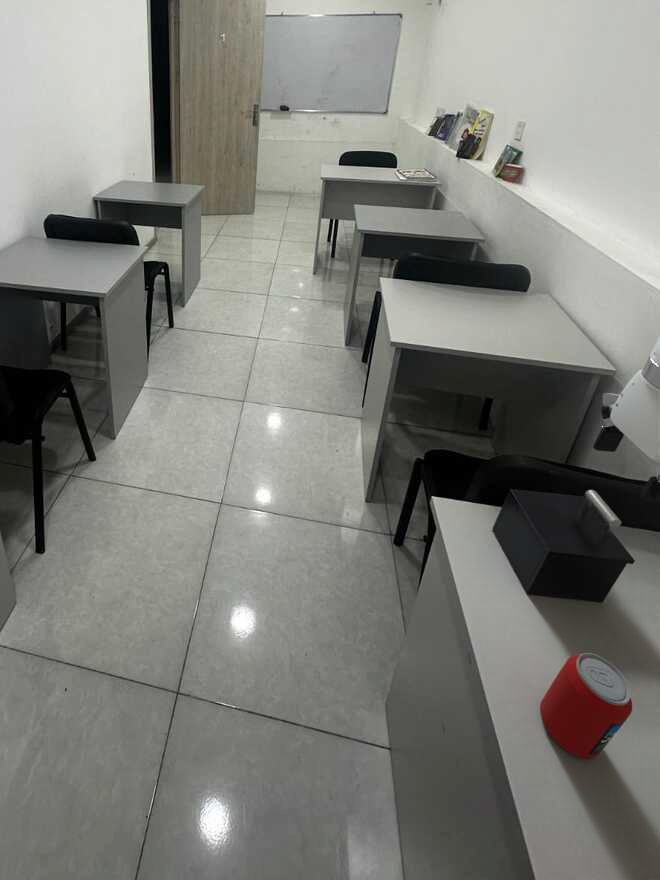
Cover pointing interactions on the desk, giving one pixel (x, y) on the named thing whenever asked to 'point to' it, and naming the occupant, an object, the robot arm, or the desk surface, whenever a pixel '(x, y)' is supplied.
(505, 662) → the desk surface
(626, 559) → the lid
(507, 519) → the box
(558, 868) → the desk surface
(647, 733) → the desk surface
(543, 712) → the beverage can
